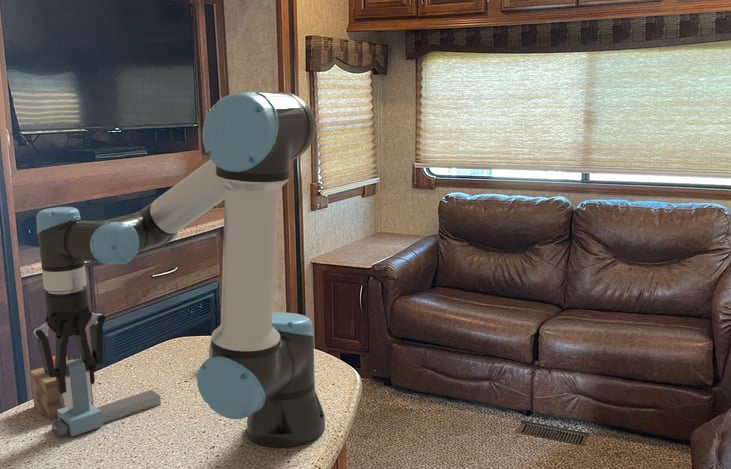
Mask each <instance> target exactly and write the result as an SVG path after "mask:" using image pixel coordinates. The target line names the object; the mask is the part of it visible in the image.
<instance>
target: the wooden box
mask: <svg viewBox="0 0 731 469" xmlns="http://www.w3.org/2000/svg"><path fill="white" fill-rule="evenodd" d="M72 360H75V359H69V360H67V362H69V361H72ZM29 373H30V374H29V375H30V381H31V388H32V390H31V391H32V396H33V397H32V398H33V405H34V408H36V409H37V410H38V411H39V412H40V413H41V414H42V415H44V416H45V417H46V418H47V419H48V420H50V421H51V420H55V419H58V414H57V410H58V409H61V408H64V407H66V406H65V405H64V398H63V393H60V392H59V391H58V389H57V382H56V377H53V378H51V377H49V376H48V375H47V374H45V372H44V367H43V366H42V367H39V368H36V369H31V370H29ZM92 385H93V384H91V393H92V402H91V404H93V405H94V406H95V404H94V396H93V388H92Z"/></svg>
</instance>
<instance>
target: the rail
mask: <svg viewBox="0 0 731 469" xmlns="http://www.w3.org/2000/svg"><path fill="white" fill-rule="evenodd" d="M159 405H162V402H161V395H160V394H159V393H157V392H156V391H154V390H152V389H150V390H146V391H143V392H140V393H137V394H134V395H131V396H128V397H125V398H122V399H119V400H116V401H113V402H112V401H111V402H109V403H106V404H104V405H99V406H97V408H98V409H99V410H101V412H102V424H103V425H104V424H106V423H107V424H108V423H110V422H112V421H116V420H119V419H122V418H124V417H128V416H130V415H133V414H137V413H139V412H142V411H145V410H148V409H151V408H153V407H157V406H159ZM51 431H52V433H53V434H54V435H56V437H58V438H59V439H60V440H61V439H63V438H66V437H69V436H71V435H70V429H69V425H68V424H67V423H66V422H65V421H64V420H62V419H60V420H58V419H57V420H54V421H52V422H51Z"/></svg>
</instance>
